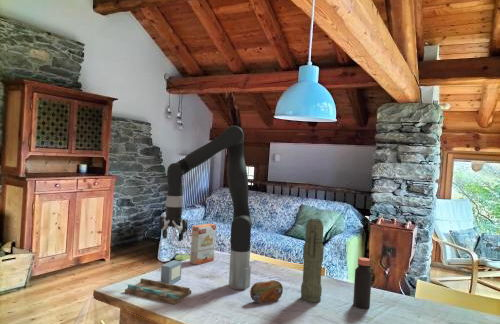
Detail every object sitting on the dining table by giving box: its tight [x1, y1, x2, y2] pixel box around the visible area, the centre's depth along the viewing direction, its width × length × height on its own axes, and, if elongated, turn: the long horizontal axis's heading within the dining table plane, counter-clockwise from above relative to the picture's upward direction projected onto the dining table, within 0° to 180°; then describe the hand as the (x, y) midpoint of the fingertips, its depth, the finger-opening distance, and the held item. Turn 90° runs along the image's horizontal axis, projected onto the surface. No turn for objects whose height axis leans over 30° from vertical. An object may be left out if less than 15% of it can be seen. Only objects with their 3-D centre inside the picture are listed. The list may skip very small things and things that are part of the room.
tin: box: [249, 279, 284, 304], centre depth 154 cm, size 15×3×8 cm, turn 117°
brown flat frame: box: [124, 278, 192, 305], centre depth 156 cm, size 25×13×3 cm, turn 69°
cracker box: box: [189, 223, 217, 266], centre depth 204 cm, size 14×6×21 cm, turn 143°
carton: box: [160, 259, 183, 285], centre depth 170 cm, size 5×10×9 cm, turn 159°
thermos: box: [300, 218, 325, 304], centre depth 158 cm, size 9×12×35 cm
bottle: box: [352, 257, 373, 309], centre depth 154 cm, size 7×7×20 cm
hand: (172, 239), depth 169 cm, fingers open, 8 cm apart
